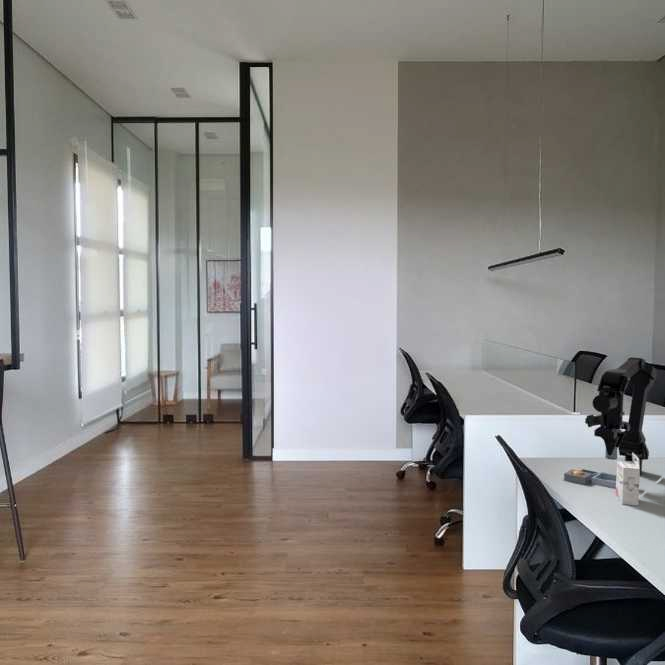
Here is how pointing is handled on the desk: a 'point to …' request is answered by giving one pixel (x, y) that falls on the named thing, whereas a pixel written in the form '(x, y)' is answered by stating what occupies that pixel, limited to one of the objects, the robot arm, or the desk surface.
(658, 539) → the desk surface
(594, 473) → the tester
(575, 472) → the tester button
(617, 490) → the ink cartridge box
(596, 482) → the cup
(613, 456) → the cylinder
